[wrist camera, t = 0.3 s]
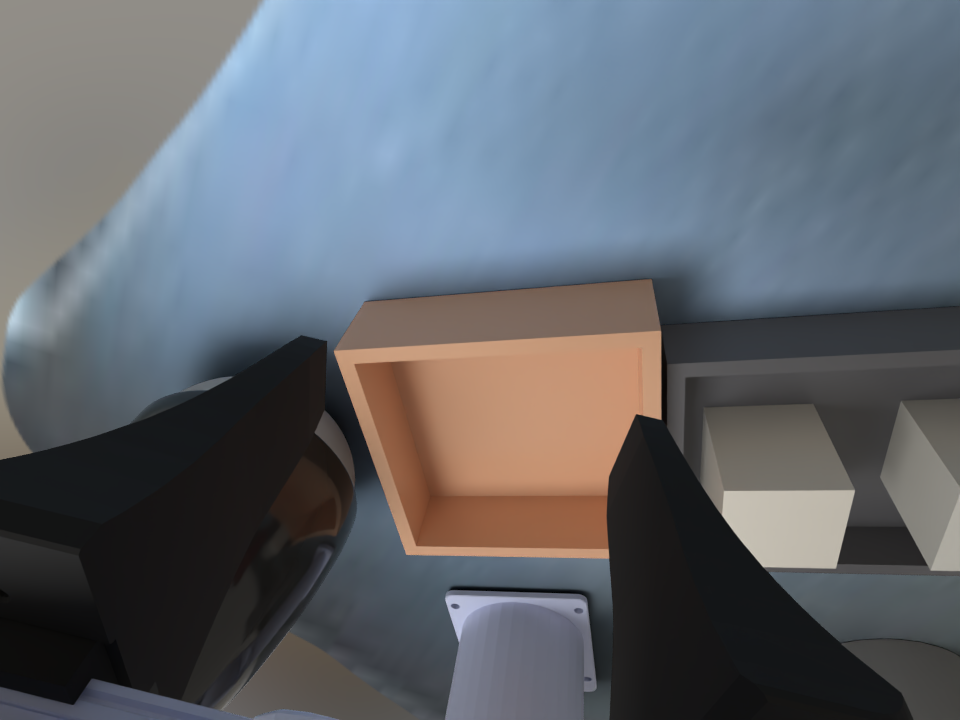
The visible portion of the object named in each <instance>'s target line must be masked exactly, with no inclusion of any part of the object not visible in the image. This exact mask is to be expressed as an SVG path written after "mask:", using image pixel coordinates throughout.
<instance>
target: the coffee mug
mask: <svg viewBox="0 0 960 720" xmlns="http://www.w3.org/2000/svg"><path fill="white" fill-rule="evenodd" d="M841 644H842V645H843V646H844V647H845V648H847V649H848V650H849V651H850V652H851V653H853V654H854V655H855V656H856V657H858V658H859V659H860V660H861V661H863V662H864V663H865V664H866V665H868V666H869V667H870V668H871V669H873V670H874V671H875V672H876V673H878V674H879V675H880V676H881V677H883V678H884V679H885V680H886V681H887V682H889V683H890V684H891V685H892V686H894V687H895V688H896V689H897V690H899V691H900V692H901V693H902V695H903V697H904V699H905V701H906V703H907V706H908V708H909V710H910V712H911V715H912V717H913V719H914V720H960V656H958V655H956V654H954V653H952V652H950V651H948V650H945V649H943V648H940V647H937V646H933V645H929V644H925V643H922V642H914V641H906V640H898V639H871V640H858V641H852V642H846V643H841Z"/></svg>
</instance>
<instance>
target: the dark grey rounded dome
mask: <svg viewBox="0 0 960 720" xmlns="http://www.w3.org/2000/svg"><path fill="white" fill-rule="evenodd" d="M232 377H234V376H232ZM232 377H222V378H217V379H212V380H208V381H205V382H202V383H199V384H196V385H193V386H191V387H189V388H187V389H185V390H183V391H181V392H179V393H174V394H171V395H168V396H165V397H163V398H160V399H158V400H156V401H155V402H153V403H152V404H150V405H149V406H147V407H146V408H145V409H144V410H143V411H142V412H141V413H140V414H139V415H138V416H137V417H136V418H135V419H134V420H133V421H132V422H131V423H130V424H132V423H135V422H138V421H141V420H143V419H146V418H149V417H151V416H154V415H156V414H158V413H161V412H163V411H165V410H168V409H170V408H172V407H175V406H177V405H179V404H181V403H184V402H186V401H188V400H190V399H192V398H194V397H196V396H198V395H200V394H202V393H204V392H206V391H208V390H209V389H211V388H213V387H215V386H217V385H219V384H221V383H223V382H224V381H226V380H228V379H230V378H232ZM356 511H357V501H356V494H355V471H354V464H353V459H352V454H351V451H350V448H349V446H348V443H347V441H346V439H345V437H344V435H343V433H342V431H341V430H340V428H339V426H338V425H337V424H336V422H335V421H334V420H333V418H332V417H331V416H330V415H329V414H328V413H327V412H326V411H325V410H324V412H323V415H322V417H321V419H320V422H319V424H318V426H317V429H316V431H315V433H314V435H313V437H312V439H311V442H310V444H309V446H308V447H307V449H306V451H305V453H304V454H303V456H302V457H301V459H300V461H299V462H298V464H297V466H296V467H295V469H294V471H293V472H292V474H291V475H290V477H289V479H288V480H287V482H286V484H285V485H284V487H283V488H282V490H281V492H280V493H279V495H278V496H277V498H276V500H275V501H274V503H273V505H272V506H271V508H270V509H269V511H268V513H267V514H266V516H265V517H264V519H263V521H262V522H261V524H260V526H259V528H258V530H257V531H256V533H255V535H254V537H253V539H252V541H251V543H250V545H249V547H248V549H247V551H246V553H245V555H244V557H243V559H242V562H241V564H240V566H239V568H238V570H237V572H236V574H235V576H234V578H233V581H232V583H231V585H230V587H229V589H228V591H227V594H226V596H225V598H224V600H223V602H222V605H221V607H220V609H219V611H218V613H217V616H216V618H215V620H214V623H213V625H212V627H211V630H210V632H209V634H208V636H207V639H206V641H205V643H204V646H203V648H202V650H201V653H200V655H199V657H198V660H197V662H196V664H195V667H194V669H193V672H192V674H191V677H190V679H189V682H188V684H187V687H186V689H185V692H184V694H183V697H182V699H181V701H184V702H188V703H192V704H196V705H200V706H204V707H208V708H212V709H216V710H220V711H222V710H223V709H224V708H225V707H226V706H227V705H228V704H229V703H230V702H231V701H232V700H233V699H234V698H235V697H236V695H237V694H238V693H239V692H240V691H241V690H242V689H243V687H244V686H245V685H246V684H247V683H248V682H249V681H250V679H251V678H252V677H253V676H254V675H255V673H256V672H257V671H258V670H259V668H260V667H261V666H262V665H263V663H264V662H265V661H266V660H267V659H268V657H269V656H270V655H271V653H272V652H273V651H274V650H275V649H276V647H277V646H278V645H279V643H280V642H281V641H282V640H283V638H284V637H285V636H286V634H287V633H288V632H289V631H290V629H291V628H292V627H293V625H294V624H295V623H296V621H297V620H298V618H299V617H300V616H301V614H302V613H303V611H304V610H305V609H306V607H307V606H308V604H309V603H310V601H311V600H312V598H313V597H314V595H315V594H316V592H317V591H318V589H319V587H320V586H321V584H322V583H323V581H324V580H325V578H326V576H327V575H328V573H329V571H330V570H331V568H332V567H333V565H334V563H335V562H336V560H337V558H338V556H339V555H340V553H341V551H342V549H343V547H344V545H345V543H346V541H347V539H348V537H349V534H350V532H351V529H352V527H353V524H354V521H355V517H356Z"/></svg>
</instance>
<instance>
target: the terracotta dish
mask: <svg viewBox="0 0 960 720" xmlns="http://www.w3.org/2000/svg"><path fill="white" fill-rule="evenodd" d="M334 353H335V356H336V359H337V362H338V365H339V367H340V370H341V373H342V376H343V379H344V381H345V384H346V387H347V390H348V393H349V395H350V398H351V401H352V404H353V407H354V409H355V412H356V415H357V418H358V420H359V423H360V426H361V429H362V432H363V434H364V437H365V440H366V443H367V446H368V448H369V451H370V454H371V457H372V460H373V462H374V465H375V468H376V471H377V474H378V476H379V479H380V482H381V485H382V487H383V490H384V493H385V496H386V499H387V501H388V504H389V507H390V510H391V513H392V515H393V518H394V521H395V524H396V527H397V529H398V532H399V535H400V538H401V541H402V543H403V546H404V549H405V552H406V554H407V555H445V556H501V557H556V558H609V548H608V533H607V517H606V515H607V496H608V482H609V475H610V473H611V470H612V468H613V466H614V463H615V461H616V459H617V456H618V454H619V452H620V450H621V447H622V445H623V443H624V440H625V438H626V436H627V433H628V431H629V429H630V427H631V424H632V422H633V420H634V417H635V415H636V414H639V415H643V416H647V417H651V418H656V419H660V420H661V327H660V322H659V316H658V311H657V305H656V300H655V295H654V289H653V284H652V279H644V280H631V281H619V282H606V283H594V284H581V285H569V286H556V287H544V288H531V289H519V290H506V291H493V292H481V293H468V294H456V295H443V296H431V297H418V298H406V299H393V300H381V301H368V302H364V303H363V305H362V307H361V308H360V310H359V311H358V313H357V315H356V316H355V318H354V319H353V321H352V322H351V324H350V326H349V327H348V329H347V330H346V332H345V334H344V335H343V337H342V338H341V340H340V342H339V343H338V345H337V346H336V348H335V349H334Z"/></svg>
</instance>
